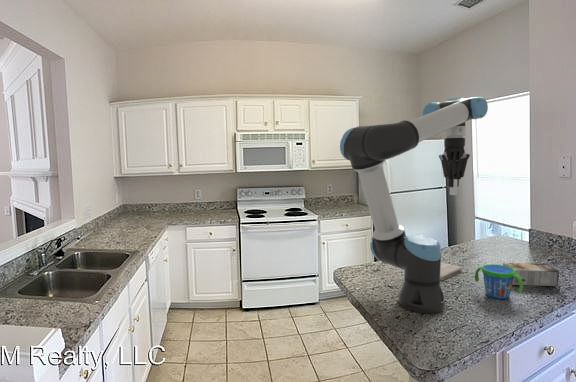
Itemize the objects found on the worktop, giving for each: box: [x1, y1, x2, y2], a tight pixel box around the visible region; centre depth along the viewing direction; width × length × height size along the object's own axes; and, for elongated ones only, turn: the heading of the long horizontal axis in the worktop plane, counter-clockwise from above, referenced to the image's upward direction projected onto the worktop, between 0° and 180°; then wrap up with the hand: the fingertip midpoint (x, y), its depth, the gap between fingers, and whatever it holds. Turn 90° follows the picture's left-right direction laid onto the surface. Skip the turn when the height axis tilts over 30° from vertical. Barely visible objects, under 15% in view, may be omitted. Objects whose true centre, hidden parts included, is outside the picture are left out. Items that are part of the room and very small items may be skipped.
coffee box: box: [502, 262, 560, 287], centre depth 140 cm, size 9×6×16 cm
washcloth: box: [440, 261, 463, 282], centre depth 155 cm, size 12×18×3 cm, turn 129°
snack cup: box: [474, 264, 524, 300], centre depth 129 cm, size 16×10×10 cm
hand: (453, 194), depth 147 cm, fingers closed
